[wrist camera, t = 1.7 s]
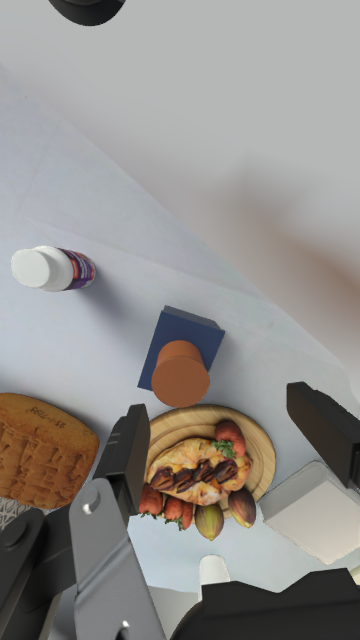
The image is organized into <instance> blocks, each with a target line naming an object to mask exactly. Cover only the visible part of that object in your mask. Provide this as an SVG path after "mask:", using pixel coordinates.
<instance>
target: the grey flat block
mask: <svg viewBox="0 0 360 640" xmlns="http://www.w3.org/2000/svg"><path fill="white" fill-rule="evenodd" d="M256 503H257V504H258V505H260V508H261V510H262V513H263V516H264V520H263V523H265V524H266V525H268V526H269V527H271V528H272V529H274V530H275V531H277V532H278V533H280V534H281V535H283V536H284V537H286V538H287V539H289V540H290V541H292V542H293V543H295V544H296V545H298V546H299V547H301V548H302V549H304V550H305V551H307V552H308V553H310V554H311V555H313V556H314V557H316V558H317V559H319V560H320V561H322V562H323V563H325V564H326V565H329V564H331V563H332V562H334V561H336V560H338V559H339V558H341V557H343V556H345V555H346V554H348V553H350V552H352V551H353V550H355V549H357V548H359V547H360V495H359V494H358V493H356V492H355V491H354V490H353V489H346V488H345V487H344V485H343V484H342V483H341V482H340V480H339V479H338V478H337V476H336V475H335V474H334V473H333V472H332V471H330V470H329V469H328V468H327V467H326V466H324V465H323V464H322V463H320V462H315V461H312V462H311V463H309V464H308V465H307V466H305V467H304V468H302V469H301V470H300V471H298V472H297V473H295V474H294V475H292V476H291V477H290V478H288V479H287V480H285V481H284V482H283V483H281V484H280V485H278V486H277V487H276V488H274V489H273V490H271V491H270V492H268V493H267V494H266V495H264V496H263V497H261V498H260V499H259V500H257V501H256Z"/></svg>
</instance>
